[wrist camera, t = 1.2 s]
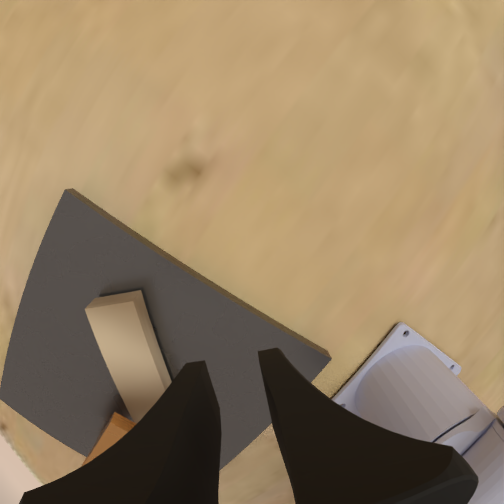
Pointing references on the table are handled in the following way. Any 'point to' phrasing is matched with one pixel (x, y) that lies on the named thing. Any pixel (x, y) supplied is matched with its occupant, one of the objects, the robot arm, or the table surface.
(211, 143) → the table surface
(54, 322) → the base plate
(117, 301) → the link
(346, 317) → the table surface
